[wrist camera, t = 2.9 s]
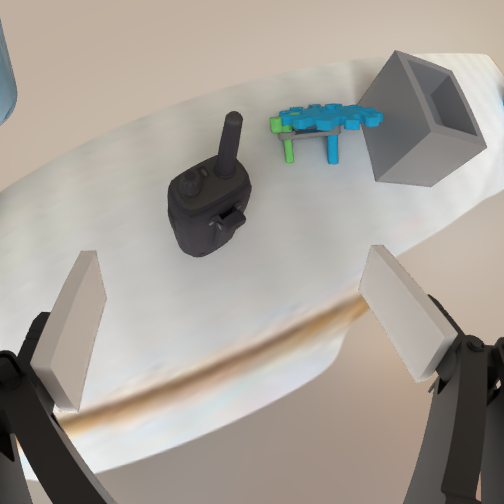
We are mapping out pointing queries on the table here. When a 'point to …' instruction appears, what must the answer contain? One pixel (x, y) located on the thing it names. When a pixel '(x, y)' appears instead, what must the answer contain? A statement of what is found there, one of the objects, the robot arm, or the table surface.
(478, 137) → the charging dock
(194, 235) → the two-way radio
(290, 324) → the table surface
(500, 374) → the robot arm
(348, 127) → the gear
